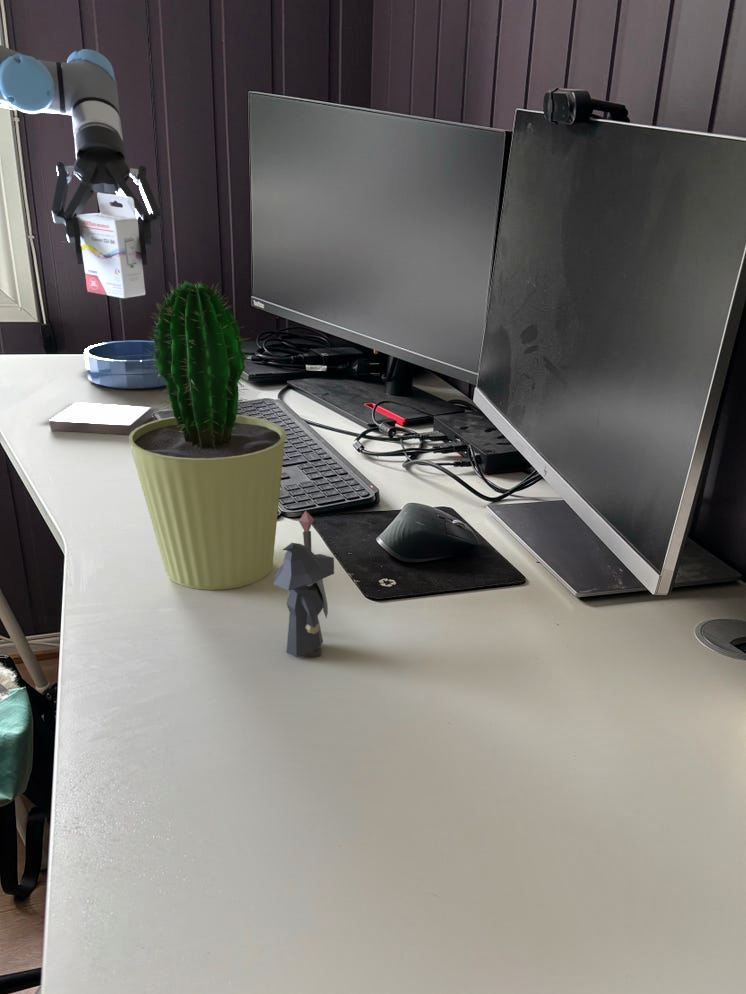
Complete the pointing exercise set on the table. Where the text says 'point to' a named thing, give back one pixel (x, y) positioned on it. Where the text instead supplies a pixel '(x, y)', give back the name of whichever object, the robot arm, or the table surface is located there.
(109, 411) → the board
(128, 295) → the ink cartridge box
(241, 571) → the potted cactus
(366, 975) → the table surface
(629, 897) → the table surface
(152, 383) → the bowl
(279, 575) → the wizard figurine
